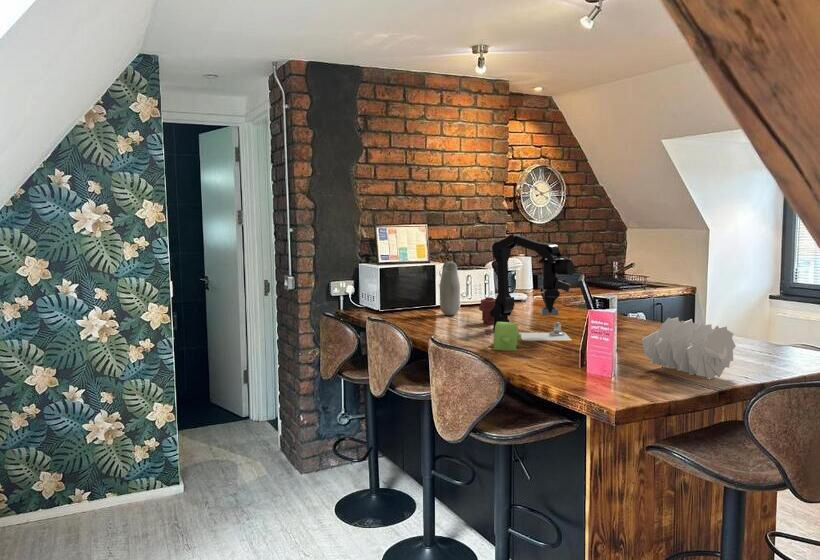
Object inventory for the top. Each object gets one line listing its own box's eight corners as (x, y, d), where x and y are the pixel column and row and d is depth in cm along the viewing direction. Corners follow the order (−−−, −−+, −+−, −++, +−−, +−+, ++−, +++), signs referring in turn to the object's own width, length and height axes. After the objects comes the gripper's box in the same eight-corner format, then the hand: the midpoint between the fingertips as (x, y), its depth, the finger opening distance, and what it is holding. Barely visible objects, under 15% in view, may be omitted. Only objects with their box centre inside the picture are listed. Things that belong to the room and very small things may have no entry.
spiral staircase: (667, 375, 224) (732, 389, 202) (633, 359, 216) (697, 371, 194) (682, 326, 227) (748, 334, 204) (649, 308, 219) (714, 314, 197)
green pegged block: (519, 355, 243) (520, 330, 242) (492, 353, 245) (494, 328, 244) (521, 344, 261) (522, 321, 259) (496, 342, 262) (497, 319, 261)
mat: (522, 341, 265) (522, 340, 265) (518, 334, 282) (518, 332, 282) (572, 341, 264) (572, 340, 264) (565, 334, 281) (565, 332, 280)
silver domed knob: (550, 335, 274) (550, 323, 273) (548, 333, 280) (548, 321, 280) (566, 335, 273) (566, 323, 273) (563, 333, 280) (563, 321, 279)
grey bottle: (436, 314, 338) (436, 261, 335) (454, 313, 342) (453, 260, 339) (445, 317, 329) (445, 262, 326) (463, 315, 333) (463, 261, 330)
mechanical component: (498, 321, 314) (501, 325, 304) (478, 321, 315) (479, 325, 305) (499, 296, 313) (501, 299, 303) (478, 296, 313) (480, 299, 303)
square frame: (542, 315, 270) (542, 309, 270) (540, 313, 276) (540, 307, 276) (558, 315, 269) (558, 309, 269) (556, 313, 276) (556, 307, 276)
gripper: (572, 276, 261) (572, 314, 263) (566, 272, 280) (565, 308, 281) (544, 276, 262) (544, 314, 264) (539, 272, 281) (539, 308, 282)
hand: (549, 311), depth 273 cm, fingers closed on square frame, 7 cm apart
